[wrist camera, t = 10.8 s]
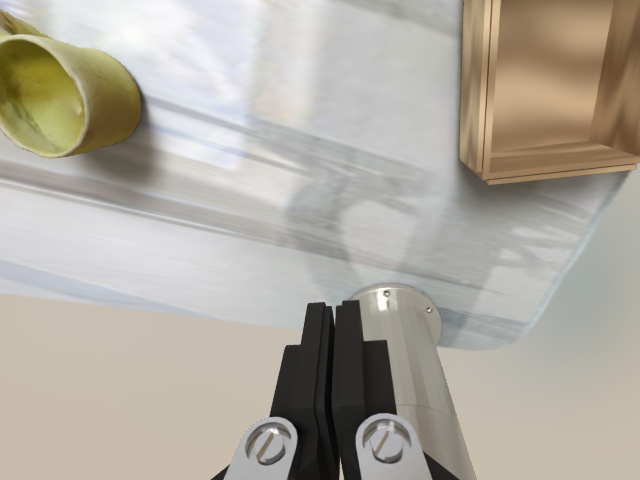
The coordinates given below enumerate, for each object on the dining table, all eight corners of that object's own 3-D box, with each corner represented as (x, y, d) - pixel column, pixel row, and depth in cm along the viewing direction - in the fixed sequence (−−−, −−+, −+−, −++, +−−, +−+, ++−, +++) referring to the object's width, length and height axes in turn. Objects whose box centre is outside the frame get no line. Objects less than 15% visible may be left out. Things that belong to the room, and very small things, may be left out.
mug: (176, 129, 34) (71, 141, 26) (116, 160, 40) (12, 178, 31) (119, -8, 32) (-18, -44, 23) (63, 45, 37) (-66, 31, 29)
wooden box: (590, 149, 34) (644, 168, 28) (453, 164, 36) (475, 186, 30) (632, -78, 27) (718, -121, 21) (458, -46, 28) (489, -77, 22)
